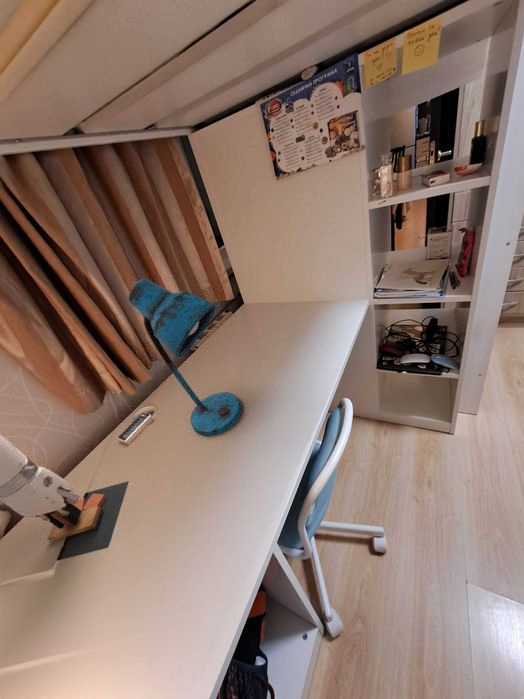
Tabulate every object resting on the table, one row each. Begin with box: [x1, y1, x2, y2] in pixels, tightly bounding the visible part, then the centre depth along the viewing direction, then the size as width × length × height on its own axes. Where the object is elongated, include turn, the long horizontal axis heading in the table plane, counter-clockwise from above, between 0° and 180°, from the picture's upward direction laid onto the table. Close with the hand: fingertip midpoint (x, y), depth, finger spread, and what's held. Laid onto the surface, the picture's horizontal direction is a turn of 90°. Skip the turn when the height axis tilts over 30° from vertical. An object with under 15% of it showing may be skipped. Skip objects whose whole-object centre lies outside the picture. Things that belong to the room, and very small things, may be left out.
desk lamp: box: [127, 278, 243, 437], centre depth 76 cm, size 16×22×45 cm
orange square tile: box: [83, 494, 107, 510], centre depth 73 cm, size 4×4×1 cm
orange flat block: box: [74, 497, 87, 511], centre depth 73 cm, size 4×4×1 cm
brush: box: [46, 505, 104, 543], centre depth 67 cm, size 11×4×9 cm, turn 98°
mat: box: [55, 480, 130, 562], centre depth 71 cm, size 20×16×1 cm
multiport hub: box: [117, 412, 155, 446], centre depth 93 cm, size 4×11×2 cm, turn 150°
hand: (70, 519), depth 68 cm, fingers closed on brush, 2 cm apart
